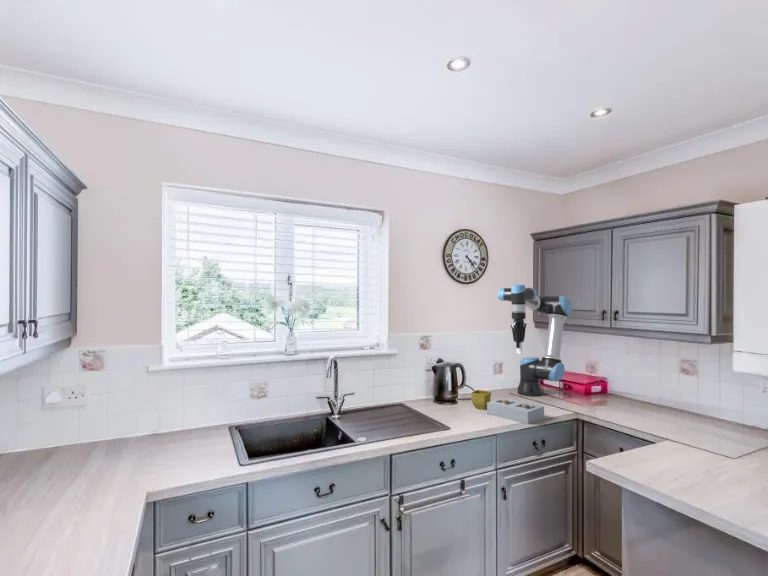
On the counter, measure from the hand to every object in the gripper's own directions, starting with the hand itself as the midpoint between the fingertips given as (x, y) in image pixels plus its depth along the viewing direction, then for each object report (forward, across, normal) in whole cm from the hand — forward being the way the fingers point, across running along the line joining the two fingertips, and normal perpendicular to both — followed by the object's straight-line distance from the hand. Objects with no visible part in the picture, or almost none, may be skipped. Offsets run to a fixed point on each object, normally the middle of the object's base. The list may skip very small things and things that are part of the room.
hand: (519, 353), depth 239 cm
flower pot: (+31, +17, -14) cm, 38 cm away
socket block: (+30, +16, +7) cm, 35 cm away
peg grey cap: (+30, +16, +13) cm, 36 cm away
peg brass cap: (+30, +16, +1) cm, 34 cm away
